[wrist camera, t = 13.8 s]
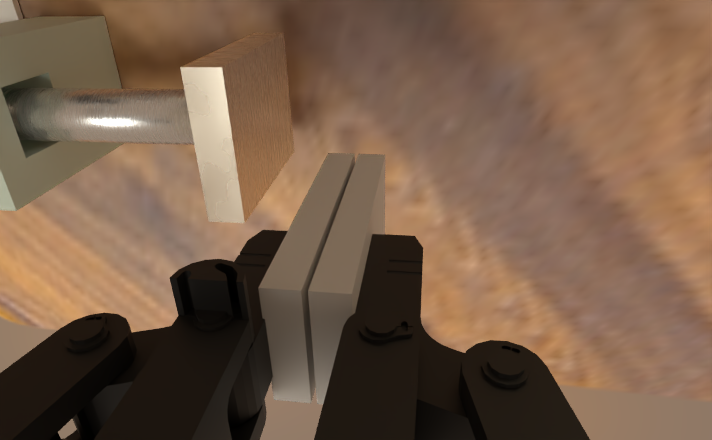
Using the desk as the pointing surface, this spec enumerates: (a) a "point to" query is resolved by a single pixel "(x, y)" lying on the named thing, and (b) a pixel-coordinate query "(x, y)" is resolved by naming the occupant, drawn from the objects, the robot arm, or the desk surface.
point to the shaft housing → (50, 70)
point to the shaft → (187, 119)
